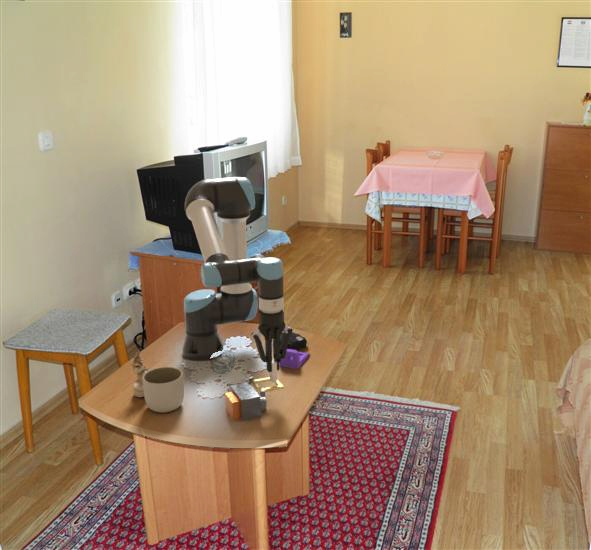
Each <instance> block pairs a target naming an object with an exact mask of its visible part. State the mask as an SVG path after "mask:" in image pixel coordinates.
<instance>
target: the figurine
mask: <svg viewBox="0 0 591 550" xmlns="http://www.w3.org/2000/svg"><path fill="white" fill-rule="evenodd" d="M143 361H144V359H143V358H142V355H141V354H140V352H136V354H135V355H134V358H133V359H132V360H131V362H130V363H131V366H132V369H133V371H134V375H136V376H137V378H136V379H135V380H134V384H133V386H132V387H133V394H134V397H137V398H143V397H144V390H143V381H142V376H143V375H144V374H145V373H146V372H147V371H149V368H148V367H147V366H146V365H145V364H144V362H143Z"/></svg>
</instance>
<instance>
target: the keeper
mask: <svg viewBox="0 0 591 550" xmlns="http://www.w3.org/2000/svg"><path fill="white" fill-rule="evenodd" d="M267 382H272V381H271V380H270V376H268V377H262V378H258V379H257V378H256V379H254V380H251V383H252V384H251V385H252V386H253V387H254V388H256V389H257V390H256V391H257V392H258V393H260V390H265V393H266V392H271V391H272V392H273V391H278V390H279V391H280V390H283V389H284V388H285V387H284V385H283V384H282V383H281V382H280V381H279V380H278V379H277V382H274V384H275V385H274V386H269V387H265V388H264V387H262V388H261V386H259V384H260V383H267Z"/></svg>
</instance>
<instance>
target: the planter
mask: <svg viewBox="0 0 591 550" xmlns="http://www.w3.org/2000/svg"><path fill="white" fill-rule="evenodd" d="M142 381H143V390H144V396H143V397H144V401H145V403H146V406H147V407H148V408H149V409H150V410H151V411H152V412H155V413H159V414H160V413H162V414H163V413H169V412H173V411H175V410H177V409H178V408H179V407H180V406H181V405H182V404H183V401H184V399H185V398H184V397H185V385H184V383H185V382H184V373H183V370H181V369H180V368H177V367H174V366H160V367H155V368H152V369H148V371H147V372H146V373H145V374H144V375H143V376H142Z"/></svg>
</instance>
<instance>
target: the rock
mask: <svg viewBox="0 0 591 550" xmlns="http://www.w3.org/2000/svg"><path fill="white" fill-rule="evenodd" d="M282 336H283V332H282V333H281V335H280V346H281V341H282ZM307 344H308V341H307V339H306V338H305V337H304V336H302V335H301V334H300V333H296V332H293V331H292V333H291V335H290V337H289V342H288V346H287V349H292V350H297V351H298V352H299V350H302V349H304V348H306V347H307Z"/></svg>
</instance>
